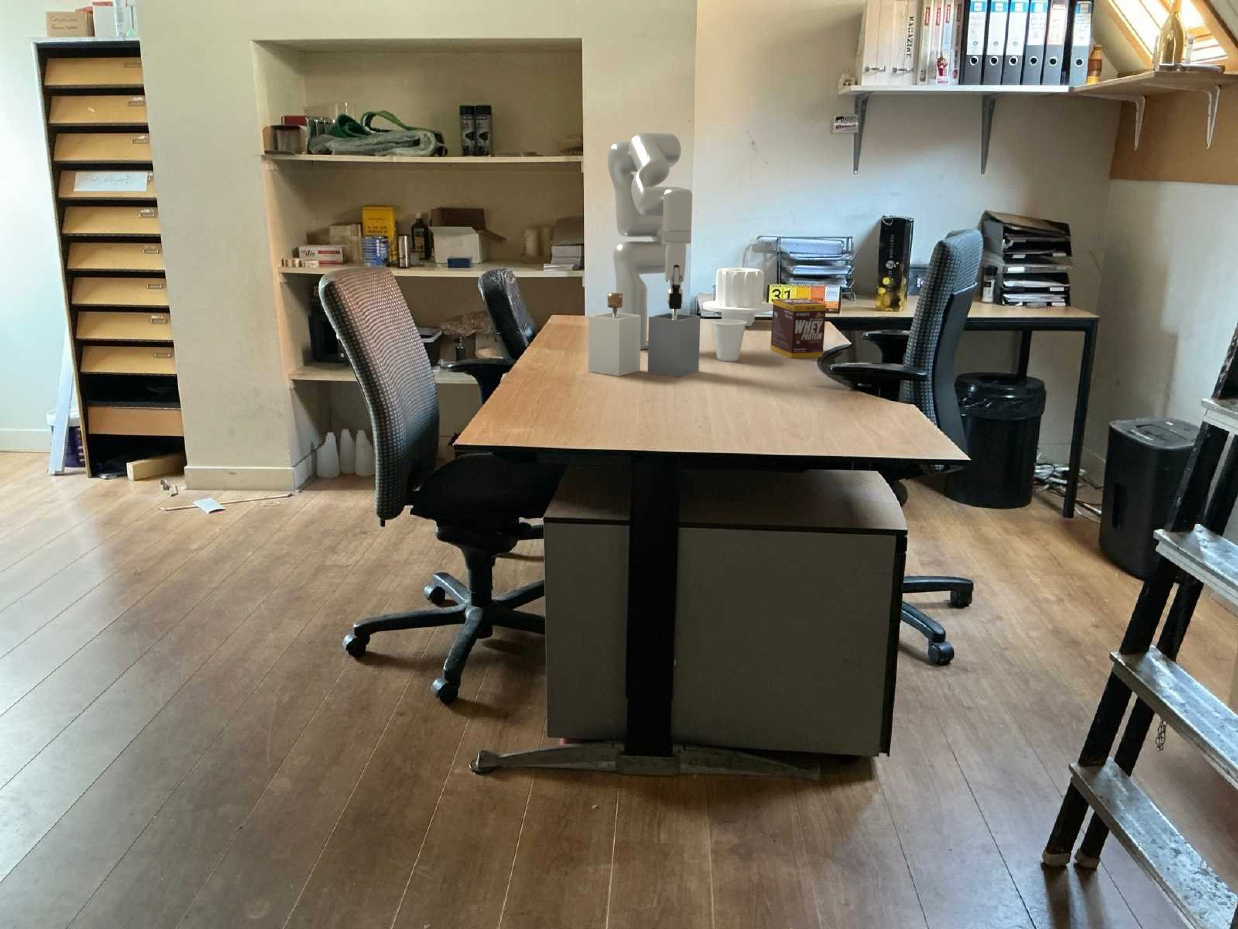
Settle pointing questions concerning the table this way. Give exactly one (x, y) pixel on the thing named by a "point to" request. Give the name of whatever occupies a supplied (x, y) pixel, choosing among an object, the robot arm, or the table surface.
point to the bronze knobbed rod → (615, 302)
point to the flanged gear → (739, 294)
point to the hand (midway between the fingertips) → (674, 306)
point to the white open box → (614, 343)
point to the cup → (728, 338)
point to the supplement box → (798, 327)
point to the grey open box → (673, 344)
